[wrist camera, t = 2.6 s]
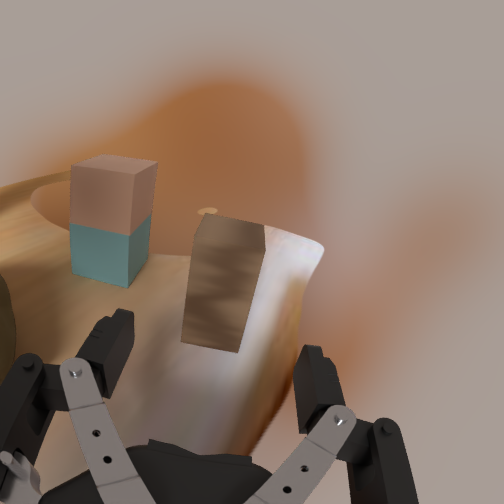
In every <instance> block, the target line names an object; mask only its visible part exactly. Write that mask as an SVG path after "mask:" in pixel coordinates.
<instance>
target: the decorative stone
mask: <svg viewBox="0 0 504 504" xmlns="http://www.w3.org/2000/svg"><path fill="white" fill-rule="evenodd" d="M15 345H16V327H15V320H14V315H13V311H12V306H11V299H10V294H9V290H8V287H7V284H6V282H5V280H4V279H3V277H2V276H1V275H0V385H1V383H2V382H3V380H4V379H5V377H6V375H7V374H8V372H9V370H10V369H11V366H12V363H13V358H14V353H15Z"/></svg>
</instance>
